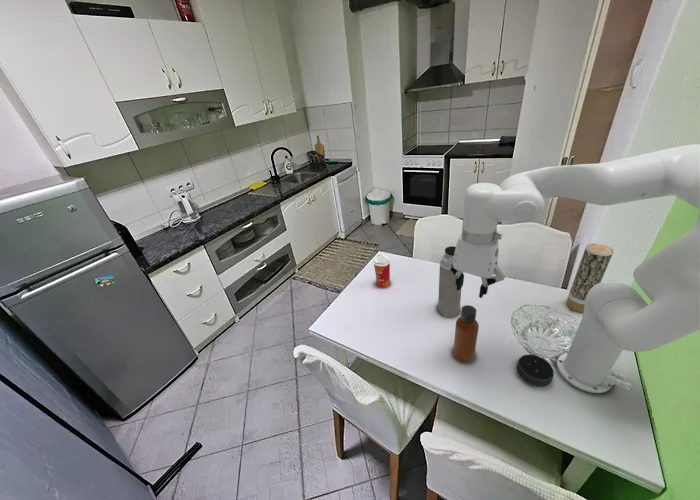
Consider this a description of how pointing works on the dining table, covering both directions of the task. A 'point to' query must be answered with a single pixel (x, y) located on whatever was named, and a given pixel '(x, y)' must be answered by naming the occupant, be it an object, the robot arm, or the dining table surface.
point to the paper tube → (588, 274)
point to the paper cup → (382, 270)
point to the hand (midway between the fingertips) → (470, 290)
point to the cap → (468, 314)
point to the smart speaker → (535, 370)
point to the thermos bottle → (448, 287)
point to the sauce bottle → (465, 340)
